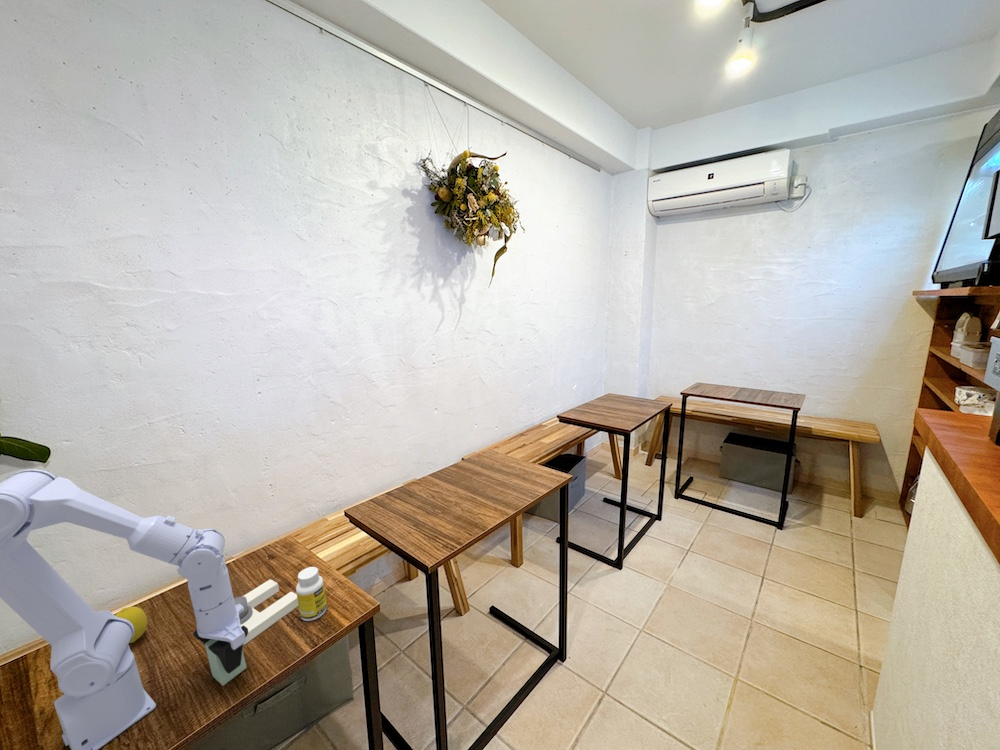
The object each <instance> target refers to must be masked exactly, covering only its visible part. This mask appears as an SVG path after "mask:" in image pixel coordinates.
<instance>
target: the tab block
mask: <svg viewBox="0 0 1000 750" xmlns="http://www.w3.org/2000/svg"><path fill="white" fill-rule="evenodd" d="M216 641H218V640H214V639H211V640H210V641H208V642H207V643H205V645H204V647H205V651H206V654H207V660H208V662H209V667H210V672H211V676H212V677H213V678H214V680H216V681H217V682H218V683H219V685H222V687H224V686H225V685H226V684H228V682H230V681H232V680H233V679H234V678H235V677H237V676H238V675H240V673H242V672H243V671H245V670H246V669H247V664H246V658H245V655H244V654H245V653H244V649H243V648H242V657H241V665H240V666H239V667H237V668H236V669H235V670H233V671H232V672H231V673H229V674H228V673H227V672H226V671H225V669H224V667H223V665H222V663H221V661H220V659H219V658H218V656H217V655H215V654H214V653H213V652H211V651H210V650H209V648H208V647H209V646H210V645H212V644H213V643H215V642H216Z"/></svg>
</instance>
